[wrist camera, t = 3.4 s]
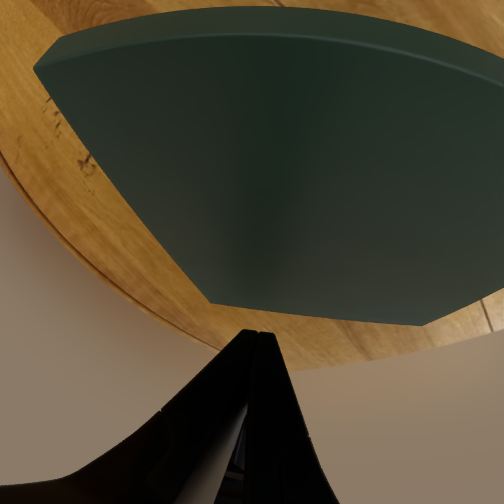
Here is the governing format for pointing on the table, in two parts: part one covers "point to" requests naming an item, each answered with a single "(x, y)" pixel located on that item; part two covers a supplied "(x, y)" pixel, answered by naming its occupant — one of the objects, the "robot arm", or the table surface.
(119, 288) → the table surface
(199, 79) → the lid
